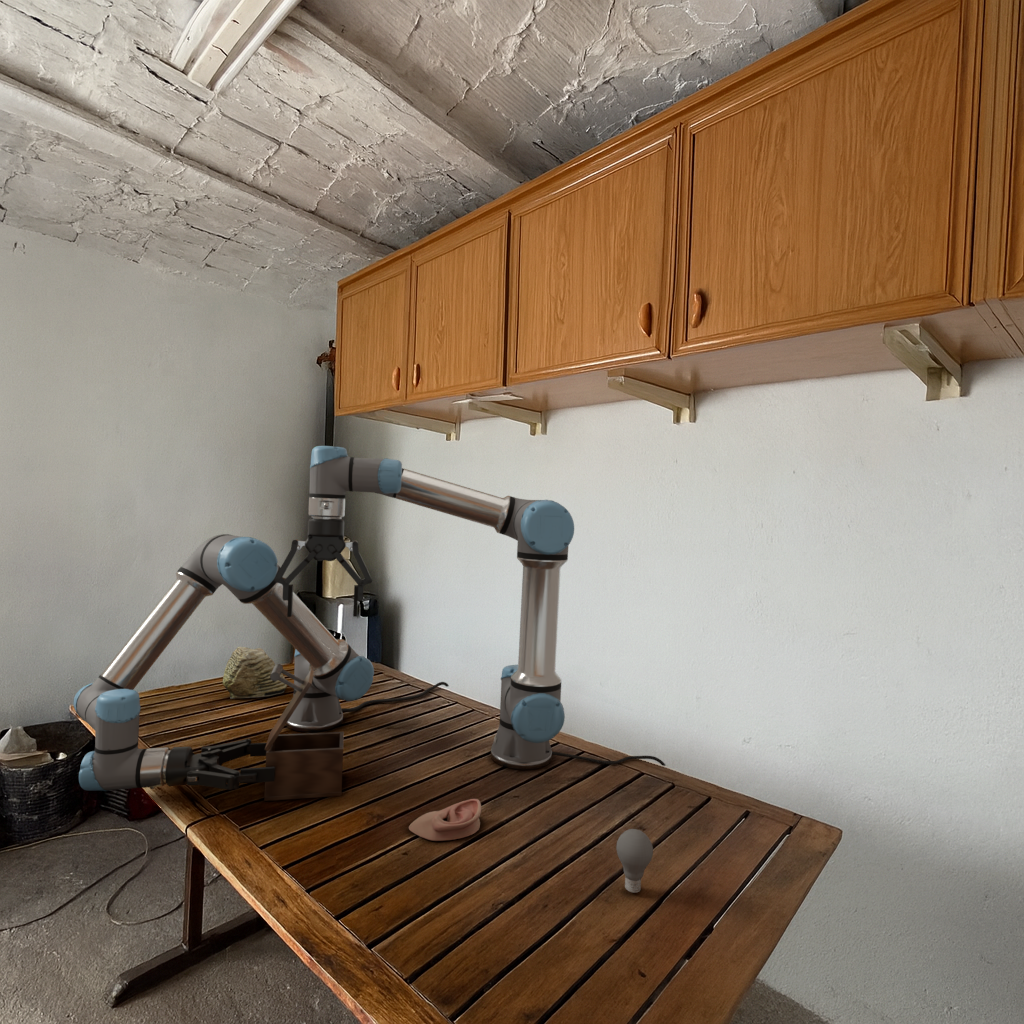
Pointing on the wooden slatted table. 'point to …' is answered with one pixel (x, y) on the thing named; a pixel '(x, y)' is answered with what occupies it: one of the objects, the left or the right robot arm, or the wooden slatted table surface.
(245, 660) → the fossil
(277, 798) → the chest
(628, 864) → the light bulb
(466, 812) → the anatomical model
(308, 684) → the lid
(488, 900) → the wooden slatted table surface
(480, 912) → the wooden slatted table surface
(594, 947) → the wooden slatted table surface
